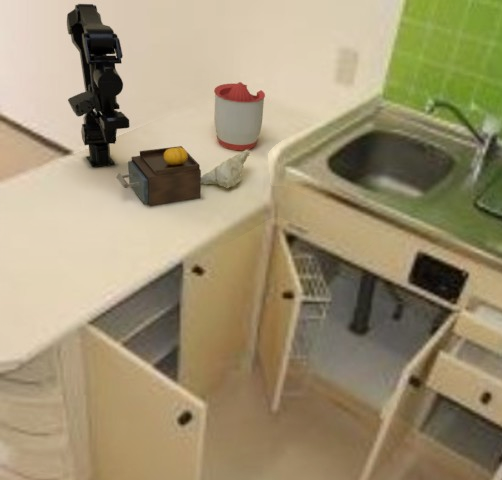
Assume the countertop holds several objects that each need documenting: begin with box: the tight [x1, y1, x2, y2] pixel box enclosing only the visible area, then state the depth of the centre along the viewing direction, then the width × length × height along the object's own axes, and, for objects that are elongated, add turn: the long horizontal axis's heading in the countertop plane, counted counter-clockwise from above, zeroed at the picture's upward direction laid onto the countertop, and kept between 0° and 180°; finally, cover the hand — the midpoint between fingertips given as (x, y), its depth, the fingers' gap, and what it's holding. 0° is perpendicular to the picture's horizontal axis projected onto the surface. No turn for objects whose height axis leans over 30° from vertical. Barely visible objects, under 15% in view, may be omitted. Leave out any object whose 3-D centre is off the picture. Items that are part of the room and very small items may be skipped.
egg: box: [164, 146, 188, 165], centre depth 170 cm, size 6×4×4 cm
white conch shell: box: [201, 149, 251, 189], centre depth 184 cm, size 15×7×15 cm
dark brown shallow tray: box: [139, 145, 200, 176], centre depth 172 cm, size 12×12×2 cm
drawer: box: [115, 160, 149, 204], centre depth 172 cm, size 18×12×7 cm, turn 122°
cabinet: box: [131, 155, 202, 207], centre depth 174 cm, size 14×13×8 cm
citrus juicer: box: [213, 81, 266, 152], centre depth 203 cm, size 16×17×20 cm
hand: (107, 142), depth 167 cm, fingers closed
